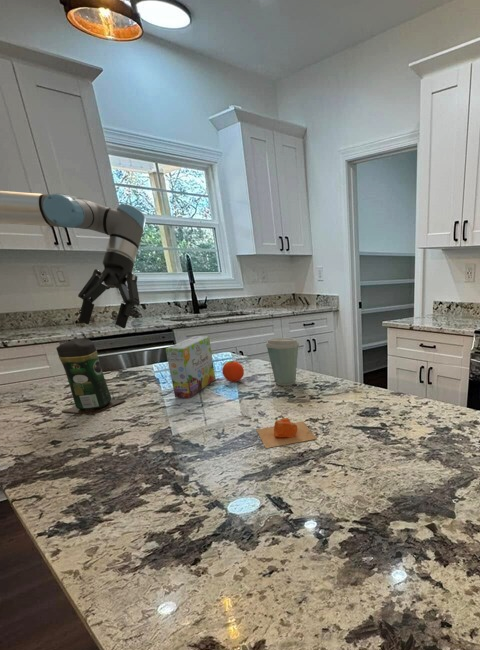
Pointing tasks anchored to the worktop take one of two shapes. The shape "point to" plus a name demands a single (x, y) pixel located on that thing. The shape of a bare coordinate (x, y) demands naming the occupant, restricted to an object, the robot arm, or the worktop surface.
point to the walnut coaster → (93, 411)
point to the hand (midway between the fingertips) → (101, 324)
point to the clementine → (233, 371)
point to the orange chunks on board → (285, 433)
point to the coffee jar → (84, 374)
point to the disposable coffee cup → (283, 359)
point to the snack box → (190, 365)
